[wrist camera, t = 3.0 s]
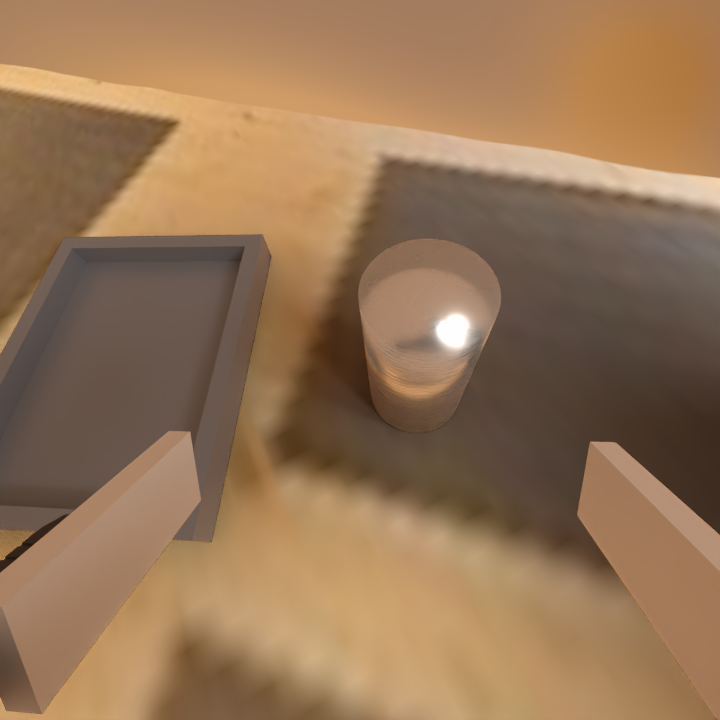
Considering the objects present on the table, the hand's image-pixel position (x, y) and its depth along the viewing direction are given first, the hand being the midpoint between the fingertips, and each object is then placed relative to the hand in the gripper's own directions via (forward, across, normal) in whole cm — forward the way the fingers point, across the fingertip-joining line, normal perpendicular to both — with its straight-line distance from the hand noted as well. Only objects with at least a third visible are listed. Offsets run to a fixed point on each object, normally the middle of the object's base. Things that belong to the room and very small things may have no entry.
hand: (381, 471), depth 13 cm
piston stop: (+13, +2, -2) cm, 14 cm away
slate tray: (+14, -19, -2) cm, 24 cm away
